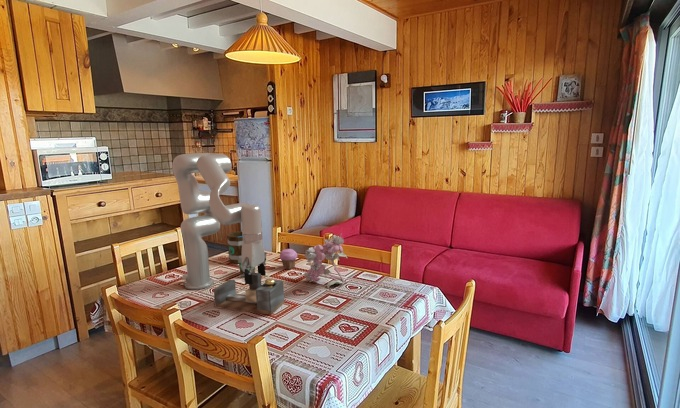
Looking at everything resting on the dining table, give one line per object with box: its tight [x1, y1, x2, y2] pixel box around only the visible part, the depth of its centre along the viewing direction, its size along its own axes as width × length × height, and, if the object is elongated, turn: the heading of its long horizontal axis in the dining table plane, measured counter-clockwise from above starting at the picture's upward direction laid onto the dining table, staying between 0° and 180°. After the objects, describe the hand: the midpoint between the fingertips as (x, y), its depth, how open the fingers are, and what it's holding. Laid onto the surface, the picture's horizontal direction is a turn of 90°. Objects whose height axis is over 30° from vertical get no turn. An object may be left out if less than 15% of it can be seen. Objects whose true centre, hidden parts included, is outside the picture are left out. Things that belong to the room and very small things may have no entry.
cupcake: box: [279, 248, 298, 270], centre depth 196 cm, size 9×9×10 cm
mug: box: [226, 230, 243, 265], centre depth 208 cm, size 20×14×15 cm
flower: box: [302, 233, 348, 290], centre depth 174 cm, size 20×22×25 cm
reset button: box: [264, 278, 275, 287], centre depth 149 cm, size 4×4×6 cm
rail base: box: [213, 279, 285, 316], centre depth 153 cm, size 25×11×10 cm, turn 72°
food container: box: [238, 258, 256, 279], centre depth 188 cm, size 12×6×10 cm, turn 168°
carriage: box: [244, 272, 262, 302], centre depth 152 cm, size 5×7×10 cm
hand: (255, 279), depth 151 cm, fingers open, 9 cm apart
